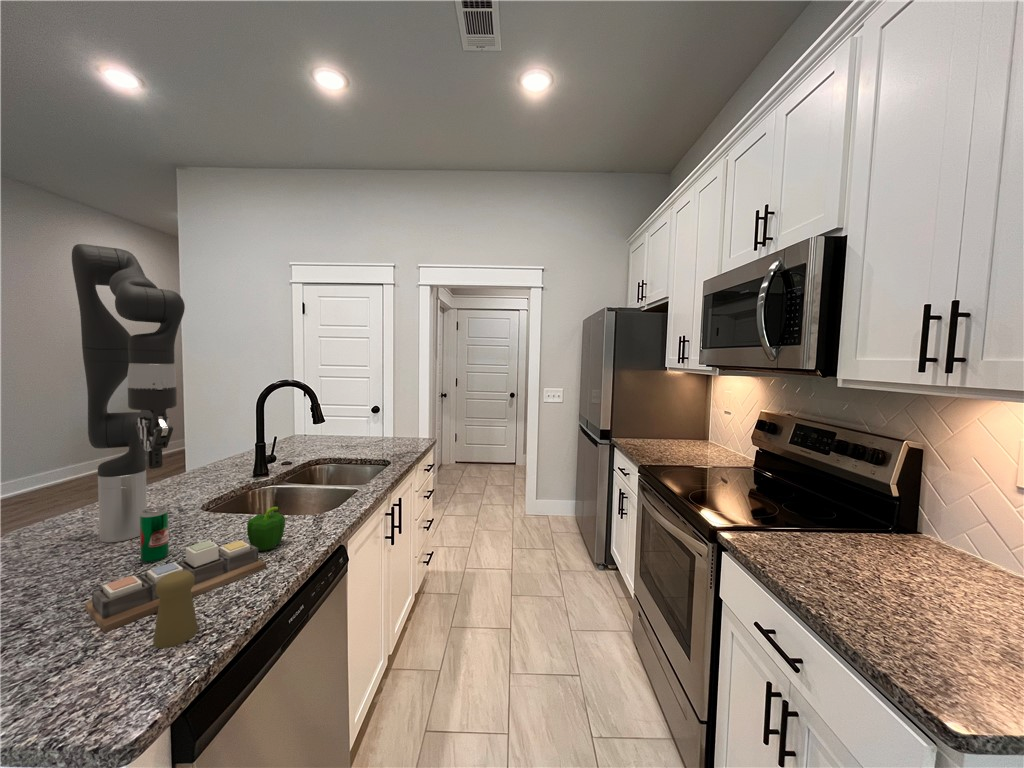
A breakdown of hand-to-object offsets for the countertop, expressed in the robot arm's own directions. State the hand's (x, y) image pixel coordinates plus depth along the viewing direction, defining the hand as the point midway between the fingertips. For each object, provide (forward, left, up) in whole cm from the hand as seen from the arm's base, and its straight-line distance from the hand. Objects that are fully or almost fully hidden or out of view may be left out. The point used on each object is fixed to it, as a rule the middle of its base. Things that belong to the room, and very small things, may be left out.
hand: (154, 467), depth 84 cm
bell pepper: (+1, +22, -26) cm, 34 cm away
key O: (+6, -7, -23) cm, 25 cm away
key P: (+6, +13, -23) cm, 27 cm away
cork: (+23, -4, -25) cm, 34 cm away
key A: (+6, +6, -21) cm, 22 cm away
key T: (+6, 0, -23) cm, 24 cm away
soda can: (-14, +4, -25) cm, 30 cm away
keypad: (+6, +3, -25) cm, 26 cm away
